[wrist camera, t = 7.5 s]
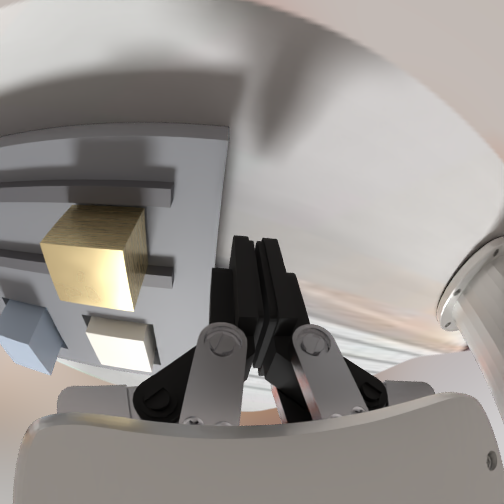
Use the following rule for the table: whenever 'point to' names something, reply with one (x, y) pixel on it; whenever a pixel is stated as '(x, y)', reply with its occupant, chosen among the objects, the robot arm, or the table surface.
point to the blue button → (30, 336)
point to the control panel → (122, 195)
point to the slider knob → (98, 255)
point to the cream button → (122, 343)
